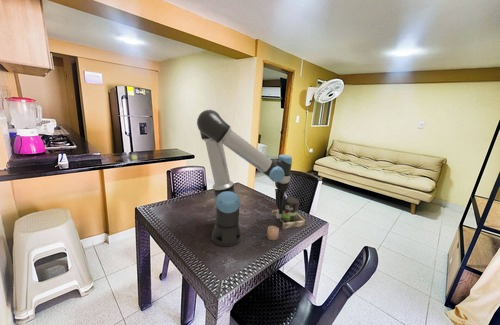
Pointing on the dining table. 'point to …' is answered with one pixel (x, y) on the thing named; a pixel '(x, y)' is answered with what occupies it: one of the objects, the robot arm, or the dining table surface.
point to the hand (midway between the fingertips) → (278, 217)
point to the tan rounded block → (272, 232)
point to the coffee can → (290, 210)
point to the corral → (292, 224)
